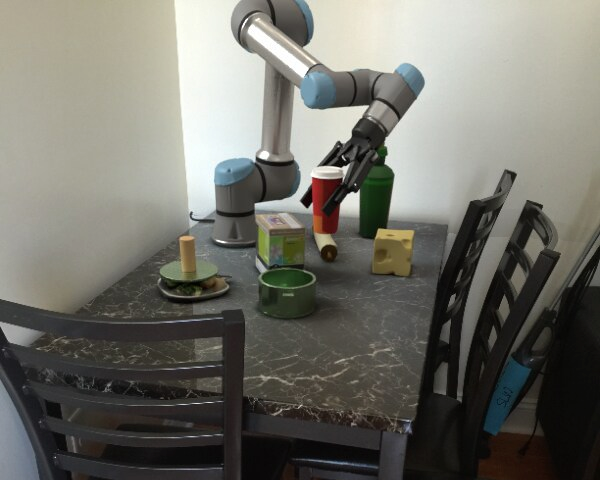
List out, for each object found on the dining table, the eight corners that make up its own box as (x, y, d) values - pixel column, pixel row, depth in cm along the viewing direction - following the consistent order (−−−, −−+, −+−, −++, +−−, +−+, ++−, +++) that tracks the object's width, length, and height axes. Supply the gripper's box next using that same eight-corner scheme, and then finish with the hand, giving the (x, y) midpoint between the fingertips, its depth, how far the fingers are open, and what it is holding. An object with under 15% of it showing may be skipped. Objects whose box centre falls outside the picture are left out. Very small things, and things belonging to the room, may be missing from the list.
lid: (156, 284, 156) (152, 247, 151) (164, 264, 168) (160, 229, 163) (216, 284, 156) (214, 247, 152) (220, 264, 169) (218, 229, 164)
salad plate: (222, 272, 176) (221, 255, 173) (245, 295, 162) (245, 277, 160) (151, 281, 169) (149, 264, 166) (169, 306, 155) (168, 288, 152)
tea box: (305, 282, 170) (306, 226, 163) (268, 285, 168) (267, 229, 160) (289, 263, 183) (290, 210, 175) (254, 266, 180) (253, 213, 172)
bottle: (394, 233, 209) (403, 141, 195) (380, 242, 201) (388, 146, 187) (365, 228, 214) (371, 137, 199) (349, 236, 206) (355, 142, 192)
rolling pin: (310, 232, 209) (311, 216, 206) (328, 232, 209) (328, 216, 207) (320, 266, 181) (320, 248, 179) (339, 266, 182) (340, 248, 179)
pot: (258, 323, 148) (258, 292, 144) (259, 292, 164) (258, 264, 160) (317, 323, 148) (318, 292, 144) (312, 292, 164) (313, 264, 160)
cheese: (409, 277, 175) (413, 241, 170) (369, 273, 177) (372, 237, 172) (411, 264, 184) (415, 229, 179) (373, 261, 186) (376, 226, 180)
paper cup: (345, 228, 155) (348, 167, 148) (336, 237, 149) (339, 173, 141) (314, 224, 157) (315, 164, 150) (304, 233, 151) (305, 171, 143)
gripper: (412, 146, 143) (350, 230, 144) (354, 132, 158) (298, 208, 158) (396, 122, 138) (332, 209, 138) (337, 110, 152) (279, 189, 153)
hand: (314, 208), depth 148 cm, fingers closed on paper cup, 8 cm apart
